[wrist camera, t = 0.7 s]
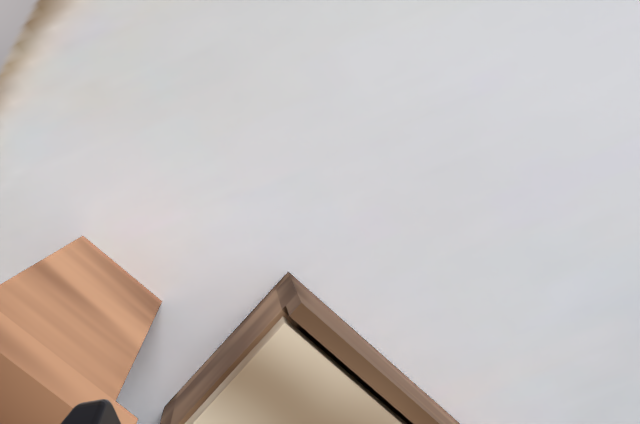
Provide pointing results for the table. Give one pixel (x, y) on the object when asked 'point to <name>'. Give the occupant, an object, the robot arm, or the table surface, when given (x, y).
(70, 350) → the wooden key
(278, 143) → the table surface
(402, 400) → the brown boxy piece
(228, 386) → the lid
